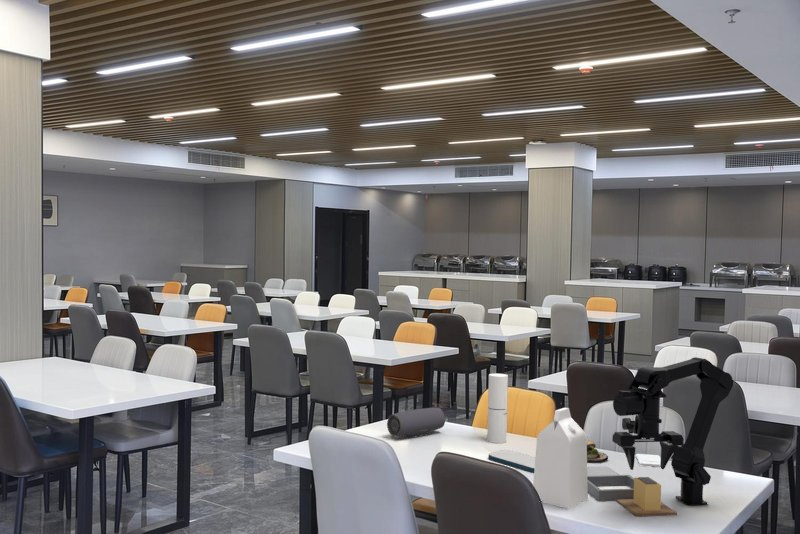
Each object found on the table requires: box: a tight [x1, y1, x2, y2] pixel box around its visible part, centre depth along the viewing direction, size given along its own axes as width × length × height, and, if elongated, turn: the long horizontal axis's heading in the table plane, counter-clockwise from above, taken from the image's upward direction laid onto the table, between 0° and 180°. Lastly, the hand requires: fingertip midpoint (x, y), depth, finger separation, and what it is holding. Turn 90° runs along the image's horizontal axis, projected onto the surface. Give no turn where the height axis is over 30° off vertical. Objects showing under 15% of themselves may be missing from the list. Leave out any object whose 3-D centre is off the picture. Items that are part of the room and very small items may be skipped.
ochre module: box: [633, 476, 662, 511], centre depth 206 cm, size 7×4×7 cm, turn 8°
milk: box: [532, 407, 589, 510], centre depth 213 cm, size 12×12×26 cm
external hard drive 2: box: [635, 453, 661, 468], centre depth 254 cm, size 2×8×12 cm
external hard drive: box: [488, 449, 536, 474], centre depth 249 cm, size 24×12×2 cm, turn 41°
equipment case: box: [587, 465, 635, 502], centre depth 227 cm, size 28×16×3 cm, turn 9°
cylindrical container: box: [486, 373, 509, 444], centre depth 278 cm, size 7×7×25 cm
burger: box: [587, 440, 609, 462], centre depth 257 cm, size 12×12×8 cm
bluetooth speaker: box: [386, 407, 446, 438], centre depth 285 cm, size 23×9×10 cm, turn 130°
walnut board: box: [616, 499, 678, 517], centre depth 207 cm, size 12×12×1 cm
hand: (646, 469), depth 206 cm, fingers open, 9 cm apart
